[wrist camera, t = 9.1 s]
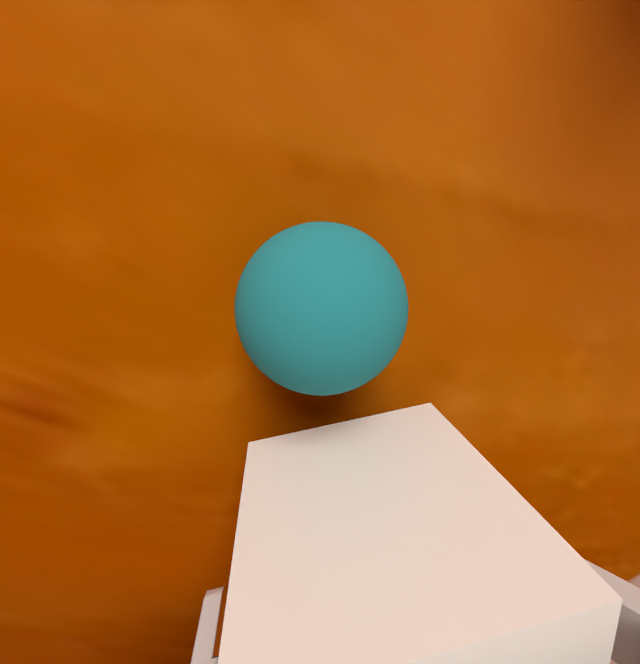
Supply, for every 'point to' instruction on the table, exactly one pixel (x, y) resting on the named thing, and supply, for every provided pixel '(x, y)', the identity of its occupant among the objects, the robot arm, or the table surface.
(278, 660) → the white rectangular prism
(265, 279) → the ball
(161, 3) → the table surface
